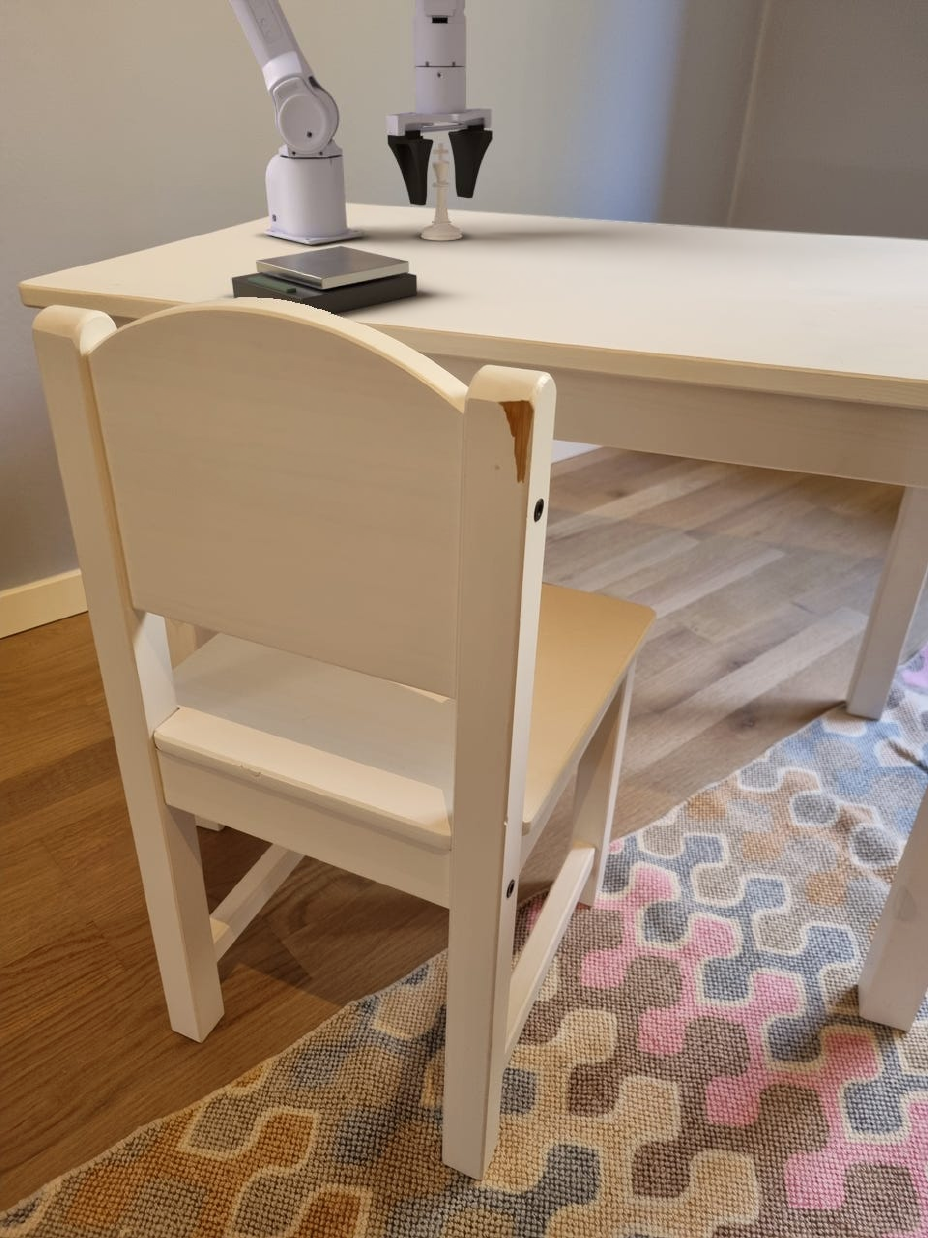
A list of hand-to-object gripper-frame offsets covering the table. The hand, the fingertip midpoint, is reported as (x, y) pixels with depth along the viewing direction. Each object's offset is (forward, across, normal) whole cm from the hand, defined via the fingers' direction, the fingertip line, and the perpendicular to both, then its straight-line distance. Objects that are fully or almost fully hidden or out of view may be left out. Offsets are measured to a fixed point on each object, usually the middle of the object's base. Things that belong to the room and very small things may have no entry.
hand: (441, 200), depth 109 cm
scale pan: (+2, -27, -14) cm, 31 cm away
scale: (+4, -28, -14) cm, 32 cm away
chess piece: (+4, 0, 0) cm, 4 cm away
